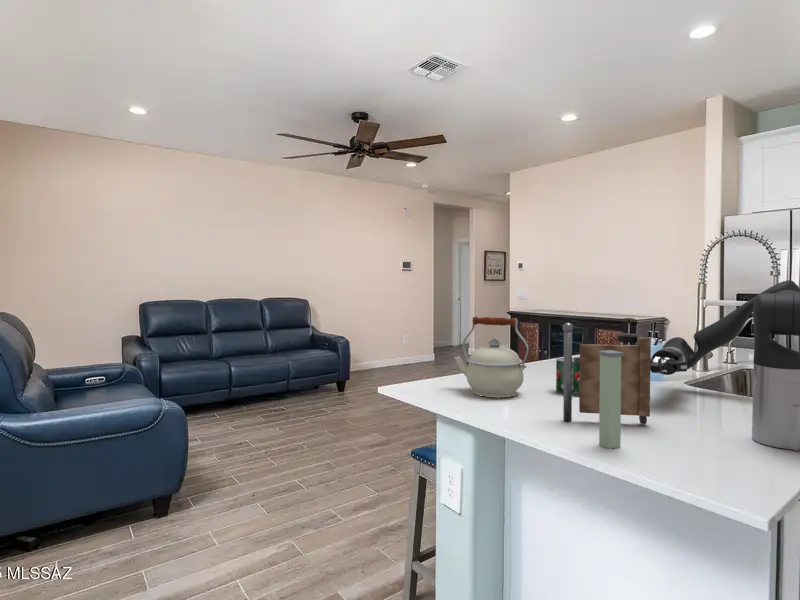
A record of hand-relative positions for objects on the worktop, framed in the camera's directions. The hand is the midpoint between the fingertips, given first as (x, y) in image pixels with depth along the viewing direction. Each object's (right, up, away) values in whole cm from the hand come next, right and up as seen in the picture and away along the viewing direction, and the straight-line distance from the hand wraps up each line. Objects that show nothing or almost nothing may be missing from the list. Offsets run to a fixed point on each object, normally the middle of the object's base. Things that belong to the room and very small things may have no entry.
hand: (654, 369), depth 124 cm
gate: (-16, -12, -8) cm, 22 cm away
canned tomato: (-14, -12, +24) cm, 30 cm away
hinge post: (-26, -13, -6) cm, 29 cm away
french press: (+13, -11, +40) cm, 43 cm away
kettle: (-40, -12, +25) cm, 49 cm away
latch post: (-23, -13, -24) cm, 36 cm away
